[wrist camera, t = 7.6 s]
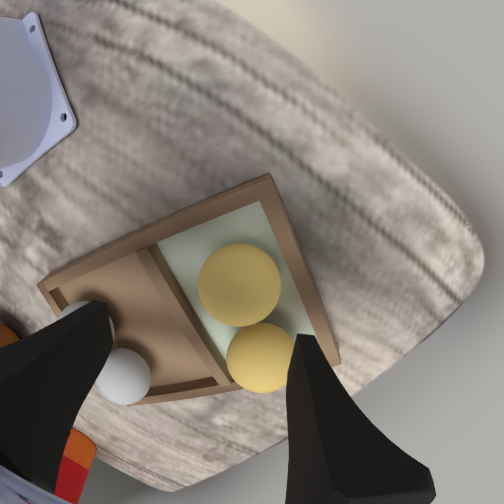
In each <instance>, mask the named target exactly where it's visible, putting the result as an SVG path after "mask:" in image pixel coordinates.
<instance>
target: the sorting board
mask: <svg viewBox="0 0 504 504" xmlns="http://www.w3.org/2000/svg"><path fill="white" fill-rule="evenodd" d="M237 243H243V244H249V245H252V246H255V247H257V248H259V249H261V250H263V251H264V252H265V253H267V254H268V255H269V256H270V257H271V258H272V260H273V261H274V262H275V264H276V266H277V268H278V270H279V273H280V278H281V293H280V296H279V300H278V302H277V304H276V306H275V308H274V309H273V310H272V312H271V313H270V314H269V315H268V316H267V317H266V318H264V319H263V320H261V321H259V322H258V323H269V324H273V325H276V326H278V327H280V328H282V329H283V330H285V331H286V332H287V333H288V334H289V335H290V336H291V338H292V339H293V341H294V343H295V340H296V336H297V333H300V334H309V335H314V336H315V337H316V339H317V341H318V343H319V345H320V347H321V349H322V351H323V353H324V355H325V357H326V359H327V360H328V362H329V364H330V366H331V367H333V366H337V365H340V364H341V360H340V354H339V349H338V346H337V343H336V340H335V338H334V335H333V332H332V329H331V326H330V324H329V321H328V318H327V315H326V313H325V310H324V307H323V305H322V302H321V299H320V297H319V294H318V291H317V289H316V286H315V283H314V281H313V278H312V276H311V273H310V270H309V268H308V265H307V263H306V260H305V257H304V255H303V252H302V250H301V247H300V245H299V242H298V240H297V237H296V235H295V232H294V230H293V227H292V225H291V222H290V220H289V217H288V215H287V213H286V210H285V208H284V205H283V203H282V200H281V198H280V196H279V193H278V191H277V188H276V186H275V184H274V181H273V179H272V177H271V174H270V173H268V174H266V175H263V176H261V177H258V178H256V179H253V180H251V181H248V182H246V183H243V184H241V185H238V186H236V187H233V188H231V189H229V190H226V191H224V192H221V193H219V194H217V195H214V196H212V197H209V198H207V199H205V200H202V201H200V202H198V203H196V204H193V205H191V206H189V207H186V208H184V209H182V210H180V211H177V212H175V213H173V214H171V215H168V216H166V217H164V218H162V219H160V220H157V221H155V222H153V223H151V224H149V225H147V226H144V227H142V228H140V229H138V230H136V231H134V232H132V233H130V234H127V235H125V236H123V237H121V238H119V239H117V240H115V241H113V242H111V243H109V244H107V245H105V246H103V247H101V248H99V249H97V250H95V251H93V252H91V253H89V254H87V255H85V256H83V257H81V258H79V259H77V260H75V261H73V262H71V263H69V264H67V265H65V266H64V267H62V268H60V269H58V270H56V271H54V272H52V273H50V274H48V275H47V276H46V277H45V278H44V279H42V280H41V281H40V282H39V283H38V284H37V287H38V288H39V290H40V291H41V293H42V295H43V296H44V298H45V299H46V301H47V302H48V304H49V305H50V307H51V309H52V310H53V312H54V313H55V315H56V316H57V317H58V318H59V316H60V314H61V312H62V311H63V310H64V309H65V308H66V307H67V306H68V305H70V304H72V303H74V302H78V301H89V302H91V301H93V300H96V301H100V302H105V303H107V307H108V314H109V316H110V318H111V320H112V322H113V325H114V331H115V336H114V344H113V347H112V349H115V348H126V349H130V350H133V351H135V352H136V353H138V354H139V355H140V356H142V357H143V359H144V360H145V361H146V363H147V364H148V366H149V369H150V372H151V385H150V388H149V390H148V392H147V394H146V395H145V396H144V397H143V398H142V399H141V400H139V401H138V402H136V403H133V404H128V405H127V406H133V405H143V404H152V403H160V402H168V401H175V400H182V399H189V398H195V397H202V396H208V395H213V394H219V393H224V392H230V391H235V390H240V389H244V388H243V387H241V386H240V385H239V384H237V383H236V382H235V380H234V379H233V378H232V376H231V375H230V373H229V370H228V367H227V363H226V354H227V349H228V346H229V343H230V342H231V340H232V338H233V337H234V336H235V335H236V334H237V333H238V332H239V331H240V330H241V329H243V328H244V327H246V326H242V327H237V326H230V325H227V324H224V323H222V322H220V321H218V320H216V319H215V318H214V317H212V316H211V315H210V314H209V313H208V312H207V310H206V309H205V307H204V306H203V304H202V302H201V299H200V296H199V292H198V278H199V273H200V270H201V268H202V266H203V264H204V262H205V261H206V259H207V258H208V257H209V256H210V255H211V254H212V253H213V252H215V251H216V250H218V249H219V248H221V247H223V246H226V245H230V244H237ZM255 324H256V323H255ZM112 349H111V350H112Z"/></svg>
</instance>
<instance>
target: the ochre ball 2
mask: <svg viewBox="0 0 504 504" xmlns="http://www.w3.org/2000/svg"><path fill="white" fill-rule="evenodd" d="M294 344H295V343H294V341H293V339H292V338H291V336H290V335H289V334H288V333H287V332H286V331H285V330H283V329H282V328H280V327H278V326H276V325H273V324H269V323H256V324H252V325H249V326H246V327H244V328H243V329H241V330H240V331H239V332H238V333H237V334H236V335H235V336H234V337H233V338H232V340H231V342H230V343H229V346H228V349H227V354H226V363H227V367H228V370H229V373H230V375H231V376H232V378H233V379H234V380H235V382H236V383H237V384H239V385H240V386H241V387H243V388H244V389H246V390H249V391H252V392H257V393H267V392H272V391H275V390H277V389H279V388H281V387H283V386H284V385H285V384H286V383H287V372H288V368H289V364H290V360H291V356H292V352H293V348H294Z"/></svg>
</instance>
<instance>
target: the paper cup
mask: <svg viewBox="0 0 504 504" xmlns="http://www.w3.org/2000/svg"><path fill="white" fill-rule="evenodd" d="M95 453H96V446H95V444H94V443H93V442H92V441H91V440H90V439H89V438H88V437H87V436H85V435H84V434H83V433H81V432H79V431H78V430H76V429H74V428H72V429H71V432H70V434H69V437H68V440H67V443H66V446H65V450H64V453H63V457H62V461H61V464H60V468H59V473H58V478H57V483H56V489H55V494H53V495H55V496H57V497H59V498H61V499H63V500H66V501H68V502H70V503H72V504H78V501H79V499H80V495H81V493H82V490H83V487H84V484H85V481H86V478H87V476H88V473H89V470H90V467H91V464H92V461H93V459H94V456H95ZM26 502H27V501H26ZM27 503H28V504H31V503H29V502H27Z"/></svg>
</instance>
